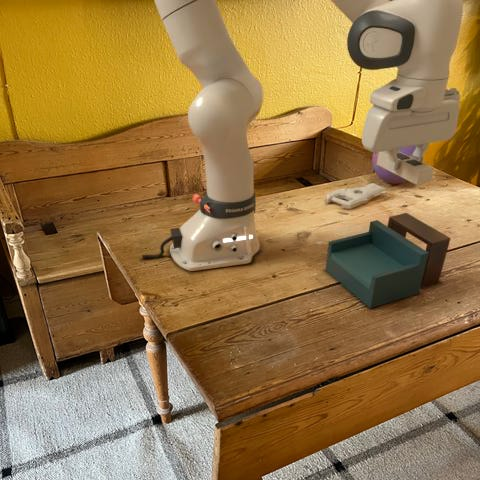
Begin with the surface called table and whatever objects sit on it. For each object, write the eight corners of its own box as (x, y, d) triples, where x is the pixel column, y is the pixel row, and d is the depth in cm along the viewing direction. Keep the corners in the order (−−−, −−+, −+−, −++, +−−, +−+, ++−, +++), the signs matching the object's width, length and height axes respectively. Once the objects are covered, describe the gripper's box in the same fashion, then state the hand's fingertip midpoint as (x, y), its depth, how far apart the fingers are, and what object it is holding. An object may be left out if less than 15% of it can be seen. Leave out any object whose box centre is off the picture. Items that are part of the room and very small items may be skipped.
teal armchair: (370, 308, 104) (377, 267, 98) (325, 270, 116) (329, 231, 110) (418, 293, 108) (429, 252, 102) (370, 257, 121) (377, 219, 114)
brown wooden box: (421, 287, 110) (432, 243, 103) (381, 258, 120) (389, 216, 113) (438, 282, 112) (450, 238, 105) (397, 254, 122) (406, 212, 115)
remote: (416, 185, 94) (419, 169, 92) (376, 164, 103) (378, 149, 101) (430, 182, 95) (434, 166, 93) (389, 161, 104) (392, 147, 102)
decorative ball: (367, 172, 166) (374, 125, 156) (414, 174, 164) (424, 127, 155) (370, 189, 154) (377, 140, 145) (420, 192, 152) (431, 142, 143)
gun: (365, 175, 153) (390, 186, 147) (363, 186, 155) (388, 196, 149) (321, 193, 145) (346, 204, 139) (321, 203, 147) (345, 216, 141)
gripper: (449, 83, 96) (432, 154, 104) (363, 94, 89) (351, 169, 97) (474, 90, 91) (454, 164, 100) (385, 102, 84) (372, 181, 92)
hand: (403, 167), depth 98 cm, fingers closed on remote, 3 cm apart
